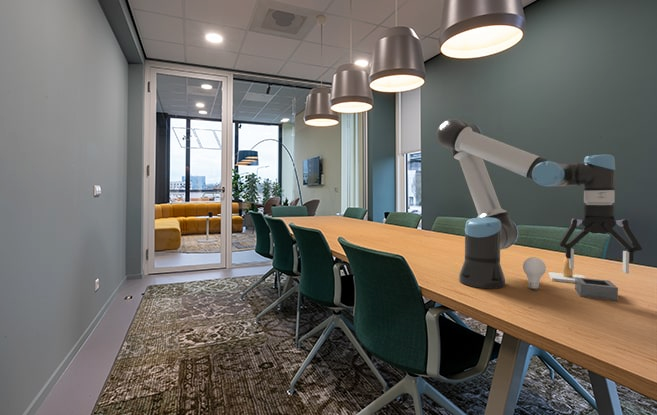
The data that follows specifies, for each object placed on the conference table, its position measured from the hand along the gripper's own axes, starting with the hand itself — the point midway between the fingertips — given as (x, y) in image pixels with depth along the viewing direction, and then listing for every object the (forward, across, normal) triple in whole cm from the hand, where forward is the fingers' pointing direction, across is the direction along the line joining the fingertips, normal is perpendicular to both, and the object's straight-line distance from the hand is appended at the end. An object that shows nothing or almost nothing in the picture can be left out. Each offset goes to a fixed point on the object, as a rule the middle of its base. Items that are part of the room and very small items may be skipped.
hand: (597, 270), depth 104 cm
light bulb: (+8, -18, -3) cm, 19 cm away
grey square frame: (+8, -1, 0) cm, 8 cm away
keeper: (+8, -5, +18) cm, 20 cm away
